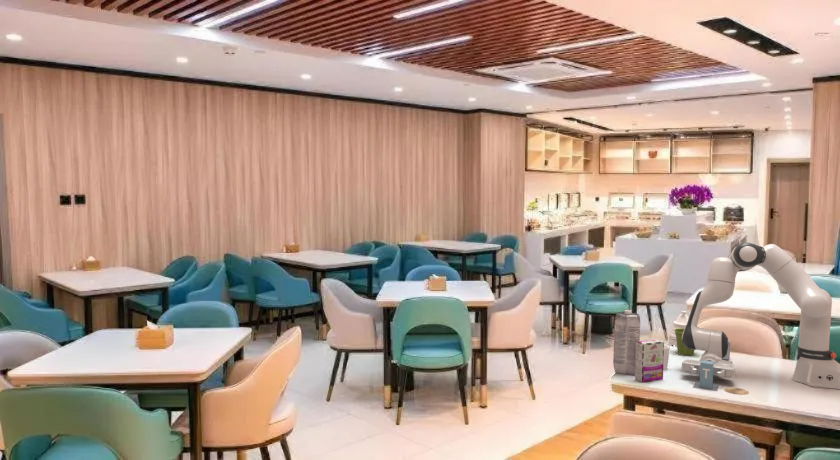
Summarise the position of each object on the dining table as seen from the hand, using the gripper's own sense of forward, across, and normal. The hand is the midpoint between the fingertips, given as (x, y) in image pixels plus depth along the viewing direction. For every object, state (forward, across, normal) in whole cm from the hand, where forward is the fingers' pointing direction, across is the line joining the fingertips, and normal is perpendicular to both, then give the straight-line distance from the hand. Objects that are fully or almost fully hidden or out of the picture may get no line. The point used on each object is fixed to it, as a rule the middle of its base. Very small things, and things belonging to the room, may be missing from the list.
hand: (706, 372), depth 265 cm
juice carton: (-3, -33, +6) cm, 33 cm away
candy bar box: (+3, -22, +6) cm, 23 cm away
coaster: (+1, +11, +6) cm, 12 cm away
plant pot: (-53, -14, +6) cm, 55 cm away
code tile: (+1, 0, +6) cm, 6 cm away
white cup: (-18, -21, +6) cm, 28 cm away
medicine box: (-53, +1, +6) cm, 53 cm away
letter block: (+1, 0, +5) cm, 5 cm away
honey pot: (-71, -18, +6) cm, 73 cm away
